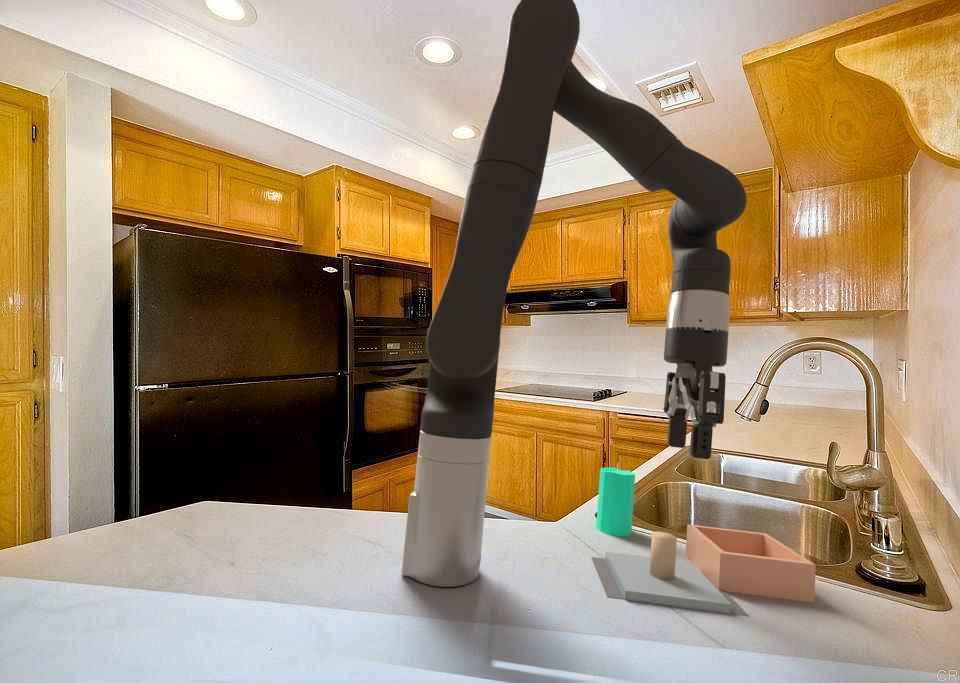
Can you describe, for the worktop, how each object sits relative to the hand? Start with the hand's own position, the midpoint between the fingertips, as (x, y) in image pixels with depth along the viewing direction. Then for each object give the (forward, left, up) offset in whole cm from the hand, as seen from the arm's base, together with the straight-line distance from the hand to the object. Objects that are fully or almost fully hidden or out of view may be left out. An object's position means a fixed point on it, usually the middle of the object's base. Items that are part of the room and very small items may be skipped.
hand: (687, 452), depth 59 cm
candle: (-4, +21, -18) cm, 28 cm away
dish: (+11, +7, -18) cm, 22 cm away
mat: (-2, +1, -18) cm, 18 cm away
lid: (-2, +1, -17) cm, 17 cm away
